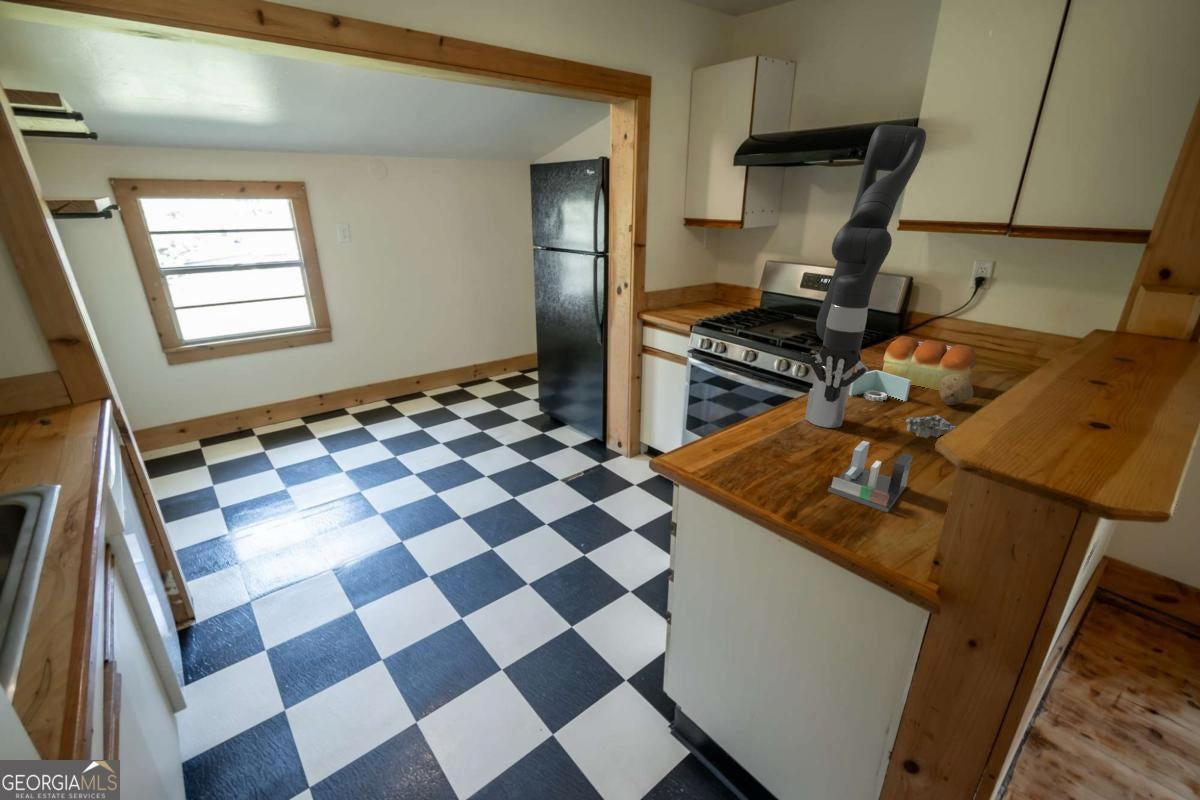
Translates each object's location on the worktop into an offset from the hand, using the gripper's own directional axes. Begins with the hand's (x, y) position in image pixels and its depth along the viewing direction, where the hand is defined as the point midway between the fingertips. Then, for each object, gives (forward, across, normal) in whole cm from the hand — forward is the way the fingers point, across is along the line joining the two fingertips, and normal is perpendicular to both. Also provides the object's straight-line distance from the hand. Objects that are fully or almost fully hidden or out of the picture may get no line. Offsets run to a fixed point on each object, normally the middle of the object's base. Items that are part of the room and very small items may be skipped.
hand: (830, 400), depth 117 cm
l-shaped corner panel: (+18, +5, -59) cm, 62 cm away
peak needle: (+15, -14, +7) cm, 22 cm away
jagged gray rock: (+18, -14, -41) cm, 47 cm away
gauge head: (+15, -9, +2) cm, 18 cm away
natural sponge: (+18, -14, -68) cm, 72 cm away
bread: (+18, -1, -86) cm, 88 cm away
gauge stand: (+17, -12, +3) cm, 21 cm away
